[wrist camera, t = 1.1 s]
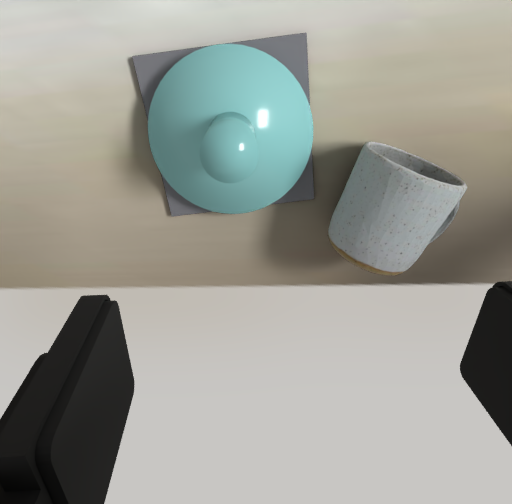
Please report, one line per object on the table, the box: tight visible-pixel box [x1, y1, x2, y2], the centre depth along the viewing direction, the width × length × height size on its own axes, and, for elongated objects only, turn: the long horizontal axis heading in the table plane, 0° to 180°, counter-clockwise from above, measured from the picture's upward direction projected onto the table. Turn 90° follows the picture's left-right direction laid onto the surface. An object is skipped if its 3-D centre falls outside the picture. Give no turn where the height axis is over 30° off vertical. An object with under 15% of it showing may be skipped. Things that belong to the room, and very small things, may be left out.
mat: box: [132, 33, 314, 216], centre depth 28 cm, size 12×12×1 cm
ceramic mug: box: [328, 142, 467, 276], centre depth 28 cm, size 11×8×8 cm
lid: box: [148, 44, 313, 214], centre depth 26 cm, size 12×12×6 cm
